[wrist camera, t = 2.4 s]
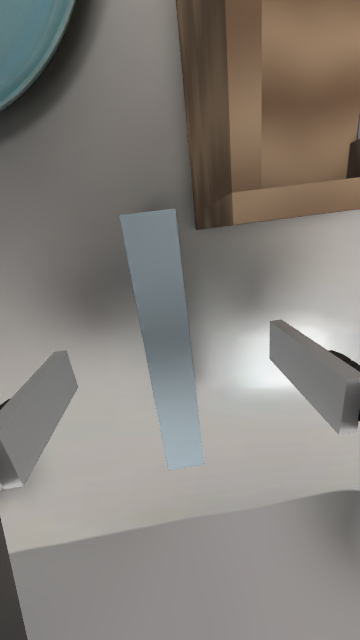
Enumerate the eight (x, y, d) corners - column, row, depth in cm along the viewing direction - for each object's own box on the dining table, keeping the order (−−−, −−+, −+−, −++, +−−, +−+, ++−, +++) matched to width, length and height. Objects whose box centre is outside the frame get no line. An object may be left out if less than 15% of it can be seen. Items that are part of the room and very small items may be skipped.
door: (136, 223, 19) (118, 215, 10) (167, 220, 19) (175, 208, 10) (164, 388, 24) (168, 470, 16) (188, 385, 24) (204, 464, 16)
